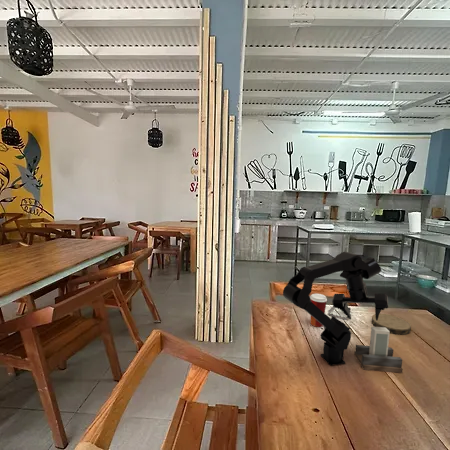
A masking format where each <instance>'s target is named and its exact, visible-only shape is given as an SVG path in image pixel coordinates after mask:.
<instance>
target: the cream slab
mask: <svg viewBox="0 0 450 450" xmlns="http://www.w3.org/2000/svg"><path fill="white" fill-rule="evenodd" d="M389 342H390V331H389V330H388V329H387V328H386V327H374V326H373V325H372V326H371V328H370V338H369V346H370V348H369V355H378V356H387V354H388V347H389Z"/></svg>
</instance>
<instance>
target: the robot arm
mask: <svg viewBox="0 0 450 450" xmlns="http://www.w3.org/2000/svg"><path fill="white" fill-rule="evenodd" d="M338 272H341V273H340V274H339V277H340V278H343V279H345V281H346V282H345V283H346V290H347V291H348V293H349V294H348V295H349V296H348V297H346V295H345V293H334V294H333V297H332V300H331V301H332V307H337V308H336V309H338V310H340V311H341V312H342V313H344V314H345V315H346V317H348V318H347V319H349V320H351V319H352V315H351V314H352V313H351V312H350V311H351V310H350V311H349V308H350V307H349V306H348V304H368V303H369V304H374V311H375V312H374V313H375V316H376V321H378V317H379V314H381V311H384V310H385V309H388V308H389V298H388V295H387V294H386V293H374V296H368V289H367V283H366V282H364V279H365V280H369V279H371V278H373V277H374V276H376V275H378V274H380V273H381V272H382V267H381V266H380V264H379V263H378V262H377V261H376V260H375V258H374V257H371V256H370V257H368V258H366V259H364V260H363V259H362V257H361V255H359V254H355V253H353V252H349V251H342V252H341V253H339V254H336V256H334V257H333V258H332V259H328V260H326V261H325V260H324V261H322V262H318V263H316V264H312V265H309V266H302V267H300V268H299V270H298V272H297V273H296V274H294V275H293V276H292V277H291V278H290V279H289V280H288V282H287V284H286V286H284V288H283V290H282V296H283V298H284V299H286V301H287V300H288V301H289V302H290V303H291V304H293V305H294V306H296V307H298V308H299V309H301V310H304V311H305V312H306V313H308V315H310V317H311V316H312V317H313V318H315V319H316V320H317V321H318V322H319V323H321V324H322V325H323V326H322V327H323V329H324V330H322V332H321V333H320V334H319V335H320V340H323V349H322V350H323V352H322V353H320V357H321V358H322V359H323V360H324V361H325V362H326V363H327V364H328V365H329V366H337V365H343V364H346V360H344V355H345V353H344V352H345V350H348V347H349V344H350V342H351V339H352V331H351V330H350V329H351V328H350V327H349V326H347V325H346V324H345V323H344V322H343V321H341V320H340V319H339V318H337V317H333V316H329V315H328V314H326V312H325V313H324V312H323V311H321V310H320V309H319V308H318V307H317V306H316V305H315V304H313V303H312V301H311V299H310V297H311V293H312V289H313V283H314V282H315V280H317V279H319V278H323V277H325V276H329V275H333V274H335V273H338ZM301 282H303V285H302V288H300V287H299V286H298V285H299V284H300V283H301ZM348 307H349V308H348Z"/></svg>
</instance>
